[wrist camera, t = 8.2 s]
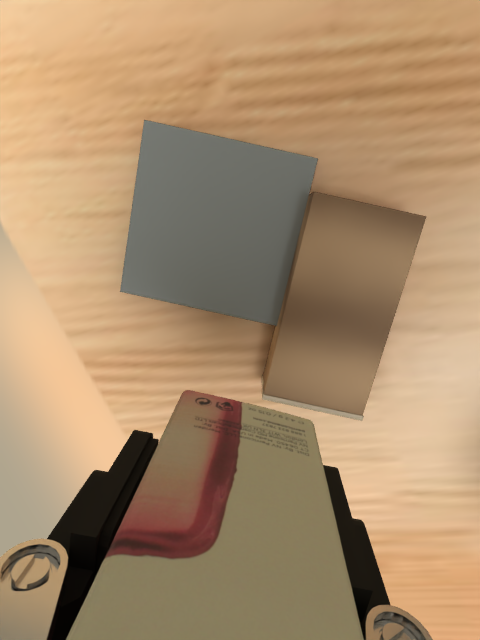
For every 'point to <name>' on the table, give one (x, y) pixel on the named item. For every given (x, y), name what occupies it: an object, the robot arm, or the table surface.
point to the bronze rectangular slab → (339, 304)
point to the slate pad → (215, 222)
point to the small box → (226, 536)
